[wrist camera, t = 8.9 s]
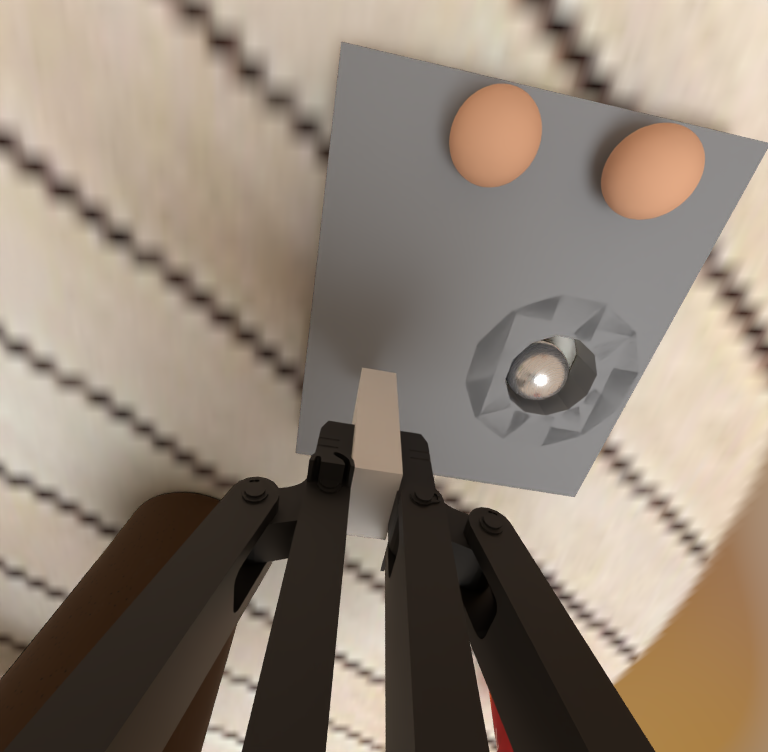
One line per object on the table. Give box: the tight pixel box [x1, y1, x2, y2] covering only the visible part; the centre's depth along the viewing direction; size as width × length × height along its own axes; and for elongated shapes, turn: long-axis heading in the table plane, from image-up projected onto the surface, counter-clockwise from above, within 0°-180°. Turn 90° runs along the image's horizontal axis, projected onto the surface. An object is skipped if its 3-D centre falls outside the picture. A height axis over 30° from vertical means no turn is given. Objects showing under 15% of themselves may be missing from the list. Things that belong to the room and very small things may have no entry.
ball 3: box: [601, 123, 705, 220], centre depth 15 cm, size 3×3×3 cm
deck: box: [296, 42, 768, 497], centre depth 21 cm, size 17×19×2 cm
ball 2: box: [506, 340, 569, 400], centre depth 22 cm, size 3×3×3 cm
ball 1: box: [449, 84, 542, 187], centre depth 15 cm, size 3×3×3 cm
